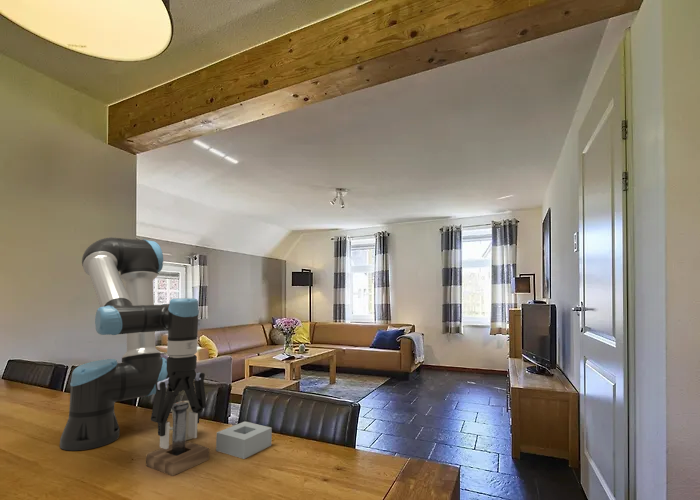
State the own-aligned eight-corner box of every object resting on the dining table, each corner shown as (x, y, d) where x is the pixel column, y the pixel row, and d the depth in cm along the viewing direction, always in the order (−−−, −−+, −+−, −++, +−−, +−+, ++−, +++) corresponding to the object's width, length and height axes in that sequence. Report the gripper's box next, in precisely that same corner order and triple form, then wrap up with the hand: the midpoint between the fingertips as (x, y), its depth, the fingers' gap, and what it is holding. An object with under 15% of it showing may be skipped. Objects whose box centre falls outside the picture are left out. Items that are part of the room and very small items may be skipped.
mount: (146, 465, 104) (146, 453, 104) (182, 450, 113) (183, 440, 114) (172, 475, 98) (173, 463, 98) (208, 459, 108) (209, 447, 108)
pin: (165, 463, 105) (168, 405, 106) (179, 458, 109) (182, 401, 110) (176, 467, 103) (178, 407, 104) (189, 461, 106) (192, 403, 108)
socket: (216, 450, 113) (216, 432, 114) (244, 438, 123) (244, 421, 123) (243, 459, 108) (244, 439, 108) (271, 445, 117) (271, 427, 118)
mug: (189, 443, 119) (190, 408, 120) (152, 440, 121) (153, 406, 122) (204, 433, 127) (205, 401, 128) (169, 430, 129) (171, 398, 130)
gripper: (155, 362, 98) (150, 459, 95) (221, 351, 115) (219, 432, 113) (137, 360, 101) (132, 453, 99) (204, 349, 119) (201, 427, 117)
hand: (178, 442), depth 106 cm, fingers open, 8 cm apart
